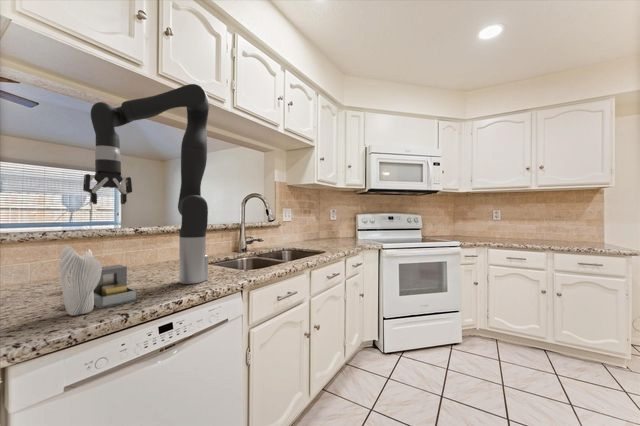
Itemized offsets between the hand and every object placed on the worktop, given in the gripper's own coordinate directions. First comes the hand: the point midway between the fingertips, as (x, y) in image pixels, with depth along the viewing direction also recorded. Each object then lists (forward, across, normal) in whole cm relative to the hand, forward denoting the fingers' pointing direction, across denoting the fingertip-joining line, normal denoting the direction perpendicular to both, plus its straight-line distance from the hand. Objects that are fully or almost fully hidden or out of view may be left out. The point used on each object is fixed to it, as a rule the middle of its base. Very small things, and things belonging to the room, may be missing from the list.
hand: (109, 204), depth 102 cm
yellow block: (+27, +7, +23) cm, 36 cm away
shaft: (+27, +7, +10) cm, 30 cm away
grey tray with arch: (+30, +7, +23) cm, 38 cm away
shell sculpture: (+30, +16, +29) cm, 44 cm away
